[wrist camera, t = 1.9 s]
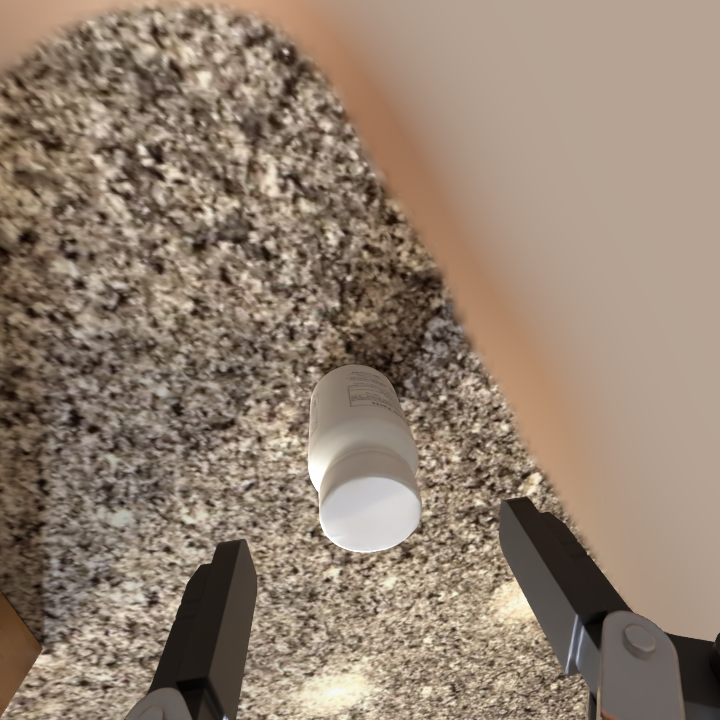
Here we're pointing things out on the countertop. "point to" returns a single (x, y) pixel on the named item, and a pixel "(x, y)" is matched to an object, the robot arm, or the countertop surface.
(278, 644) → the countertop surface
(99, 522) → the countertop surface
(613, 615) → the robot arm
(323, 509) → the pill bottle
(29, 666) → the shelf
